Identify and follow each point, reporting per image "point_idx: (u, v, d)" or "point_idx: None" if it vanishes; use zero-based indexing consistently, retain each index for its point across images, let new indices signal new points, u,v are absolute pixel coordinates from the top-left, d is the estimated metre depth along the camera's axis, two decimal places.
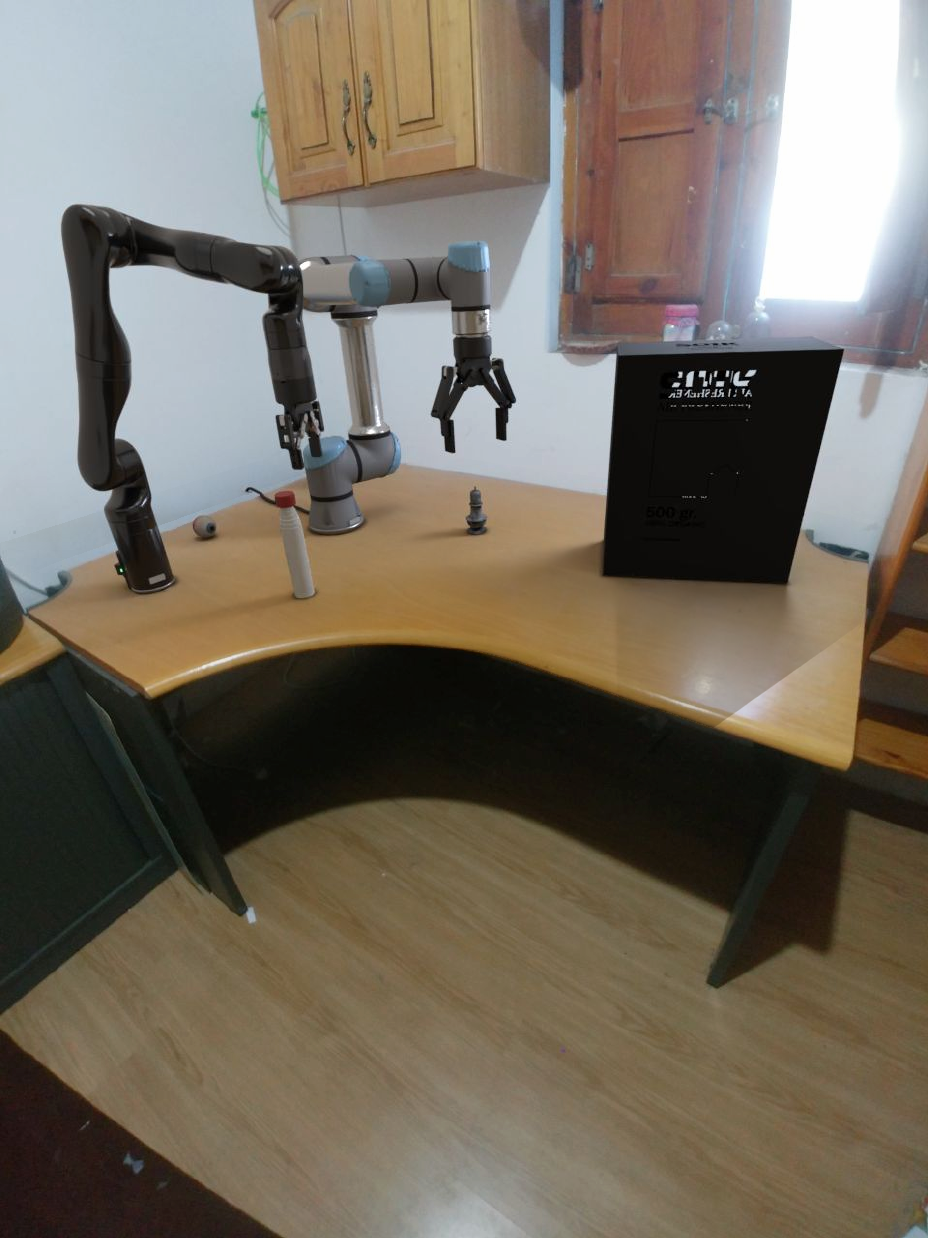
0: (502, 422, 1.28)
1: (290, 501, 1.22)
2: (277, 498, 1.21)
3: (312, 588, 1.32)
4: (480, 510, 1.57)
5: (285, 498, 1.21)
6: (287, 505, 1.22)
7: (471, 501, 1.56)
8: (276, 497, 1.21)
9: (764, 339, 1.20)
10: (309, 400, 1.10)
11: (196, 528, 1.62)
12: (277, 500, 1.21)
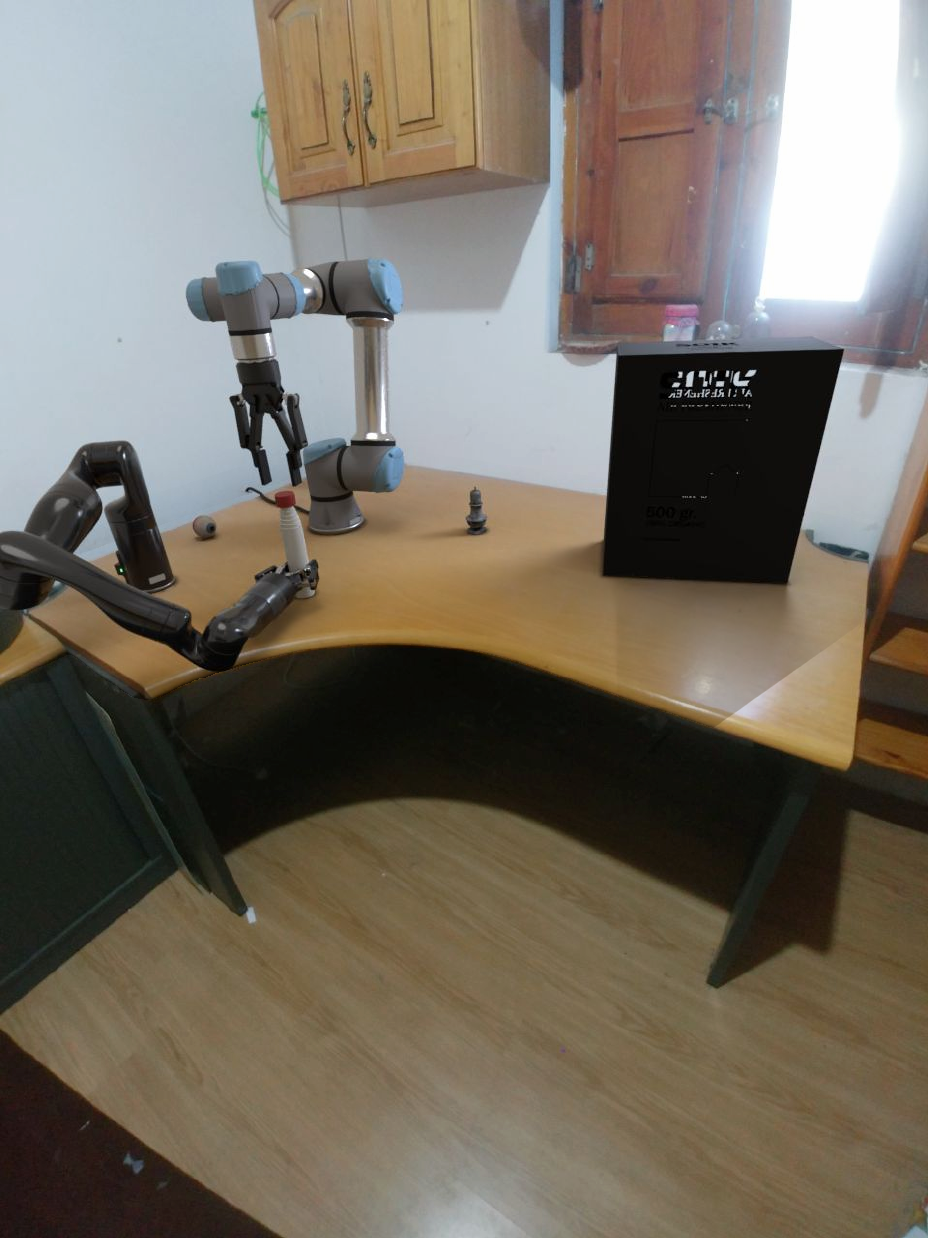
0: (267, 463, 1.21)
1: (290, 501, 1.22)
2: (277, 498, 1.21)
3: None
4: (480, 510, 1.57)
5: (285, 498, 1.21)
6: (287, 505, 1.22)
7: (471, 501, 1.56)
8: (276, 497, 1.21)
9: (764, 339, 1.20)
10: (281, 574, 1.20)
11: (196, 528, 1.62)
12: (277, 500, 1.21)
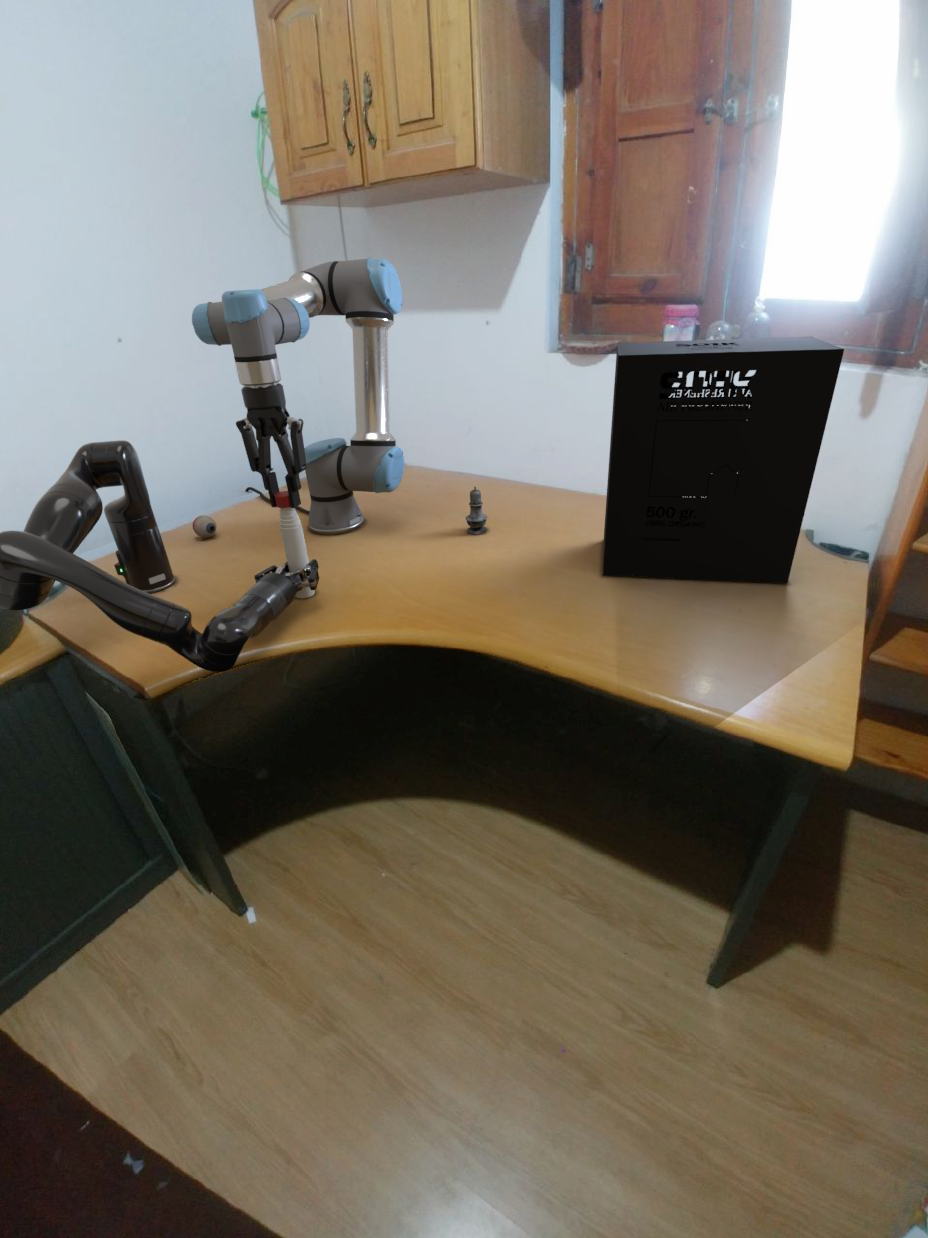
0: (277, 485, 1.23)
1: None
2: (277, 498, 1.21)
3: None
4: (480, 510, 1.57)
5: (285, 498, 1.21)
6: (287, 505, 1.22)
7: (471, 501, 1.56)
8: (276, 497, 1.21)
9: (764, 339, 1.20)
10: (281, 574, 1.20)
11: (196, 528, 1.62)
12: (277, 500, 1.21)
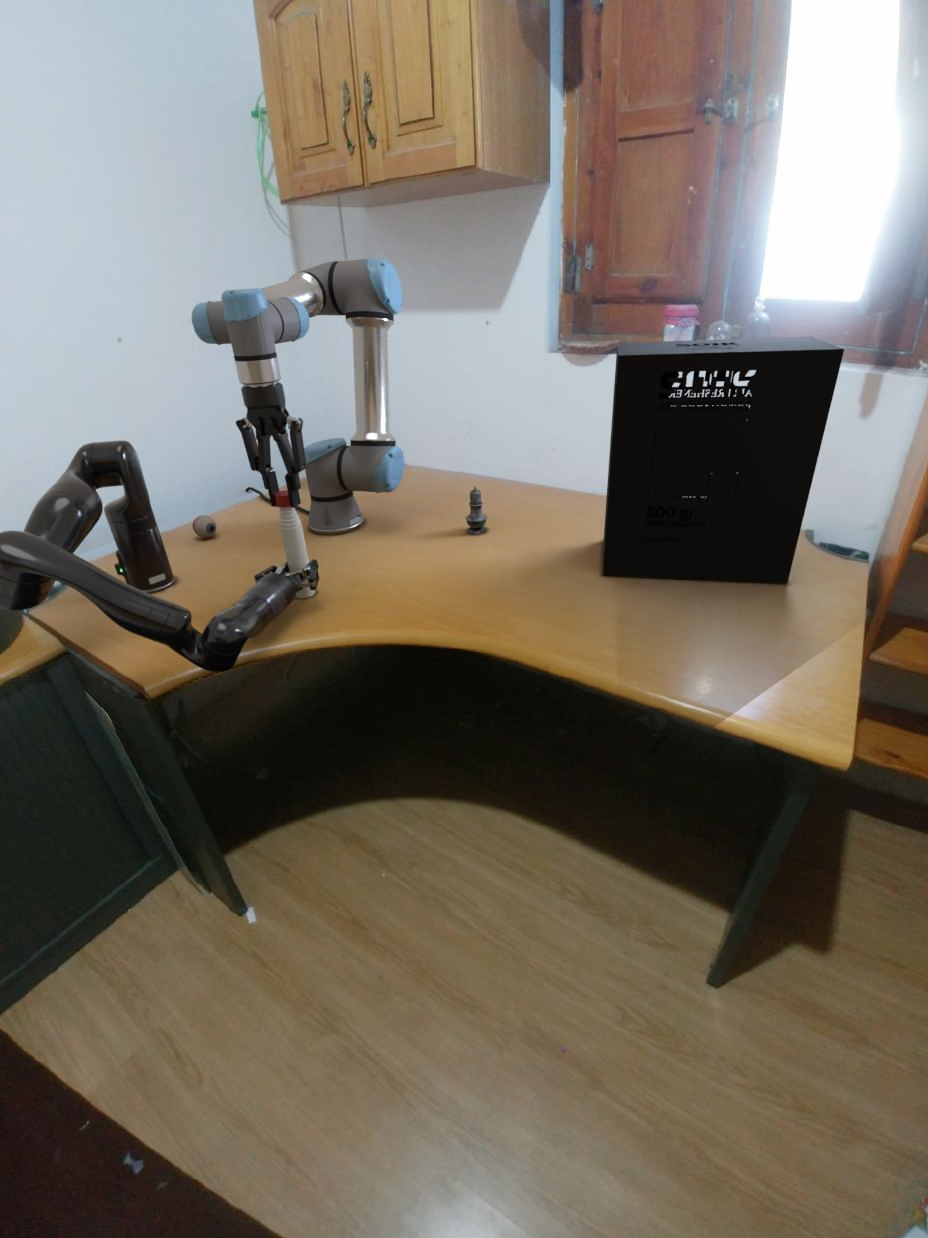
0: (277, 484, 1.23)
1: None
2: None
3: None
4: (480, 510, 1.57)
5: None
6: None
7: (471, 501, 1.56)
8: None
9: (764, 339, 1.20)
10: (281, 574, 1.20)
11: (196, 528, 1.62)
12: None
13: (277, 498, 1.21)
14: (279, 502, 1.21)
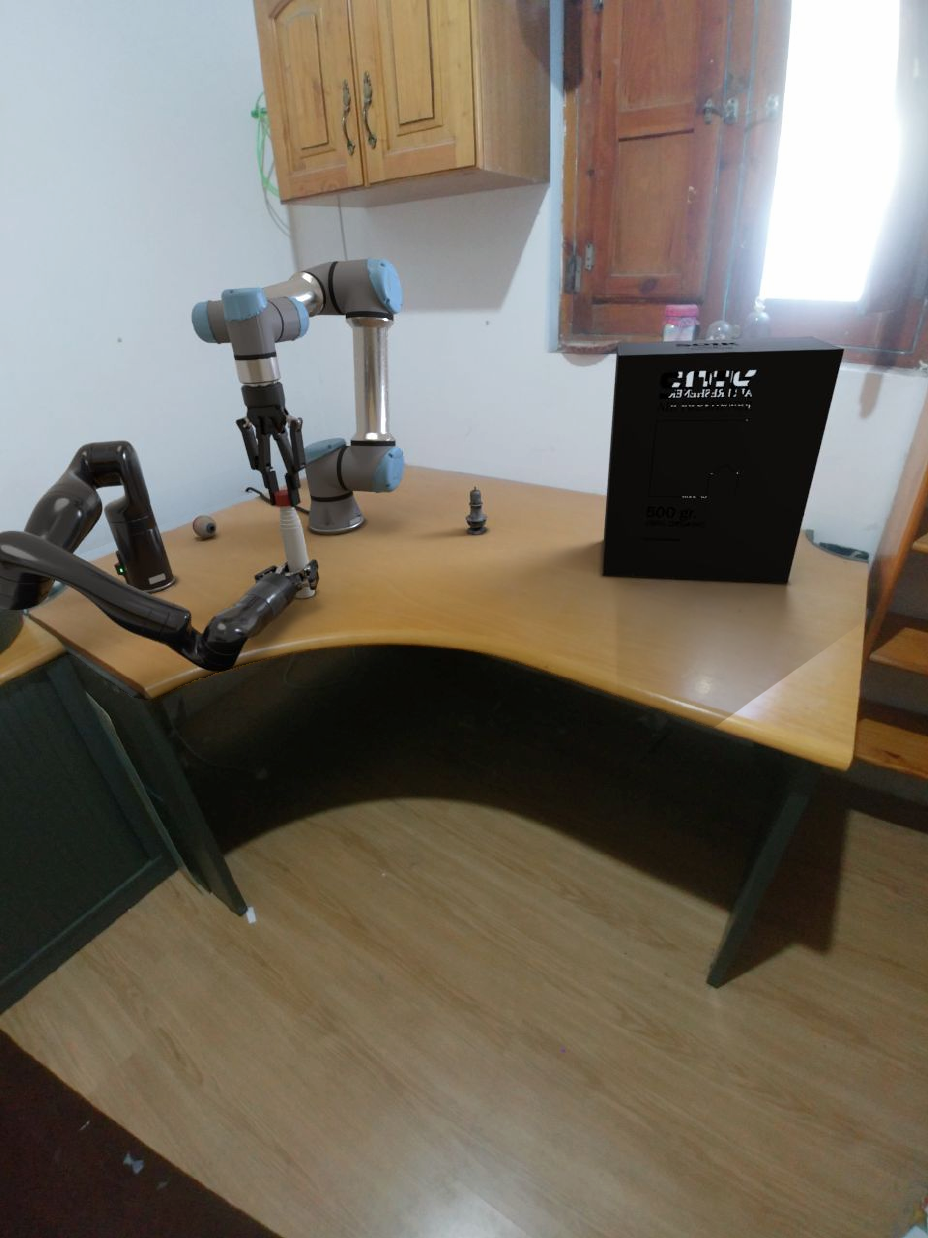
0: (277, 484, 1.23)
1: (277, 501, 1.21)
2: None
3: None
4: (480, 510, 1.57)
5: (274, 496, 1.21)
6: (276, 503, 1.22)
7: (471, 501, 1.56)
8: None
9: (764, 339, 1.20)
10: (281, 574, 1.20)
11: (196, 528, 1.62)
12: None
13: None
14: None
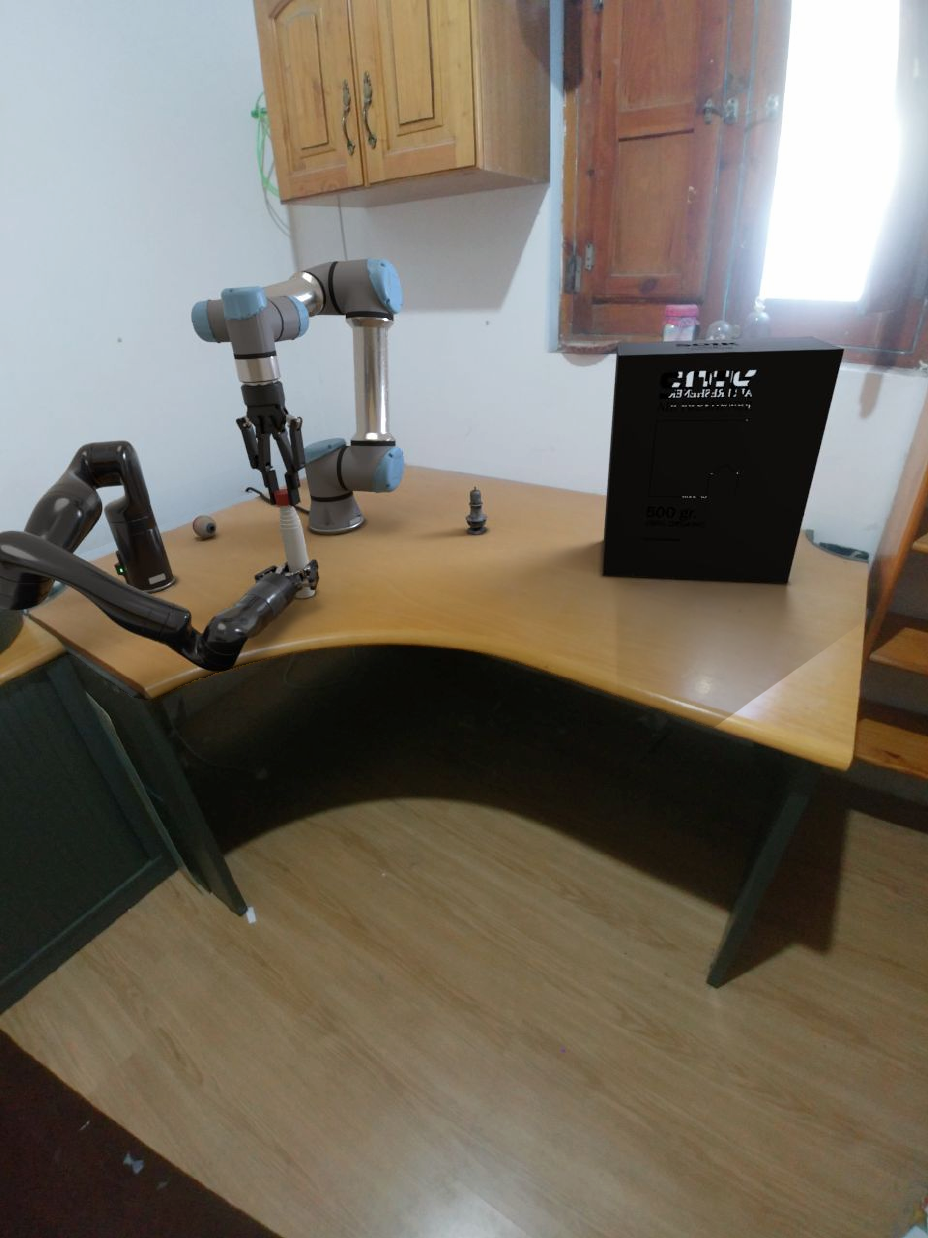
0: (277, 483, 1.22)
1: None
2: (284, 496, 1.20)
3: None
4: (480, 510, 1.57)
5: None
6: None
7: (471, 501, 1.56)
8: (283, 495, 1.20)
9: (764, 339, 1.20)
10: (281, 574, 1.20)
11: (196, 528, 1.62)
12: (284, 498, 1.21)
13: None
14: None
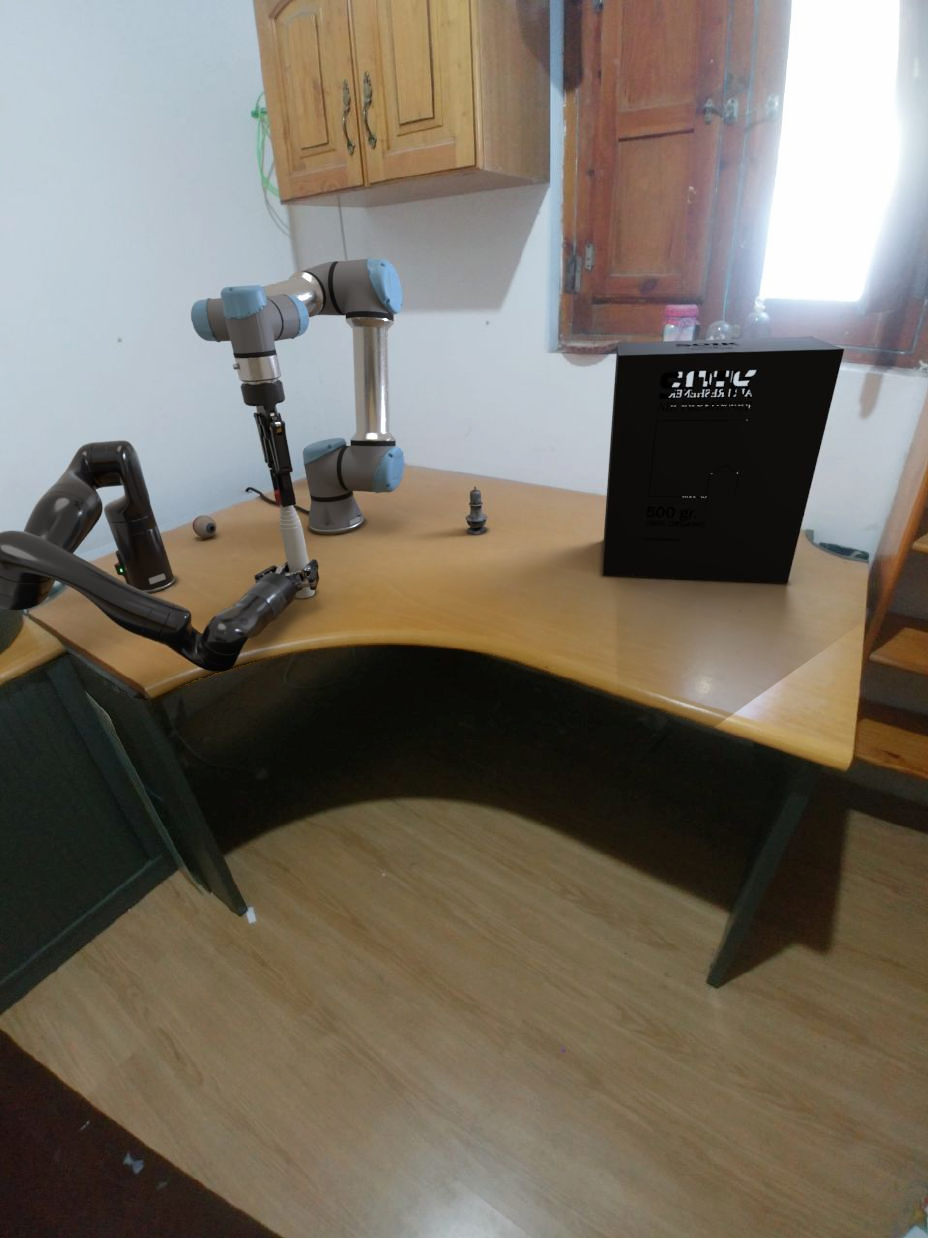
0: None
1: None
2: None
3: None
4: (480, 510, 1.57)
5: None
6: None
7: (471, 501, 1.56)
8: None
9: (764, 339, 1.20)
10: (281, 574, 1.20)
11: (196, 528, 1.62)
12: None
13: None
14: None
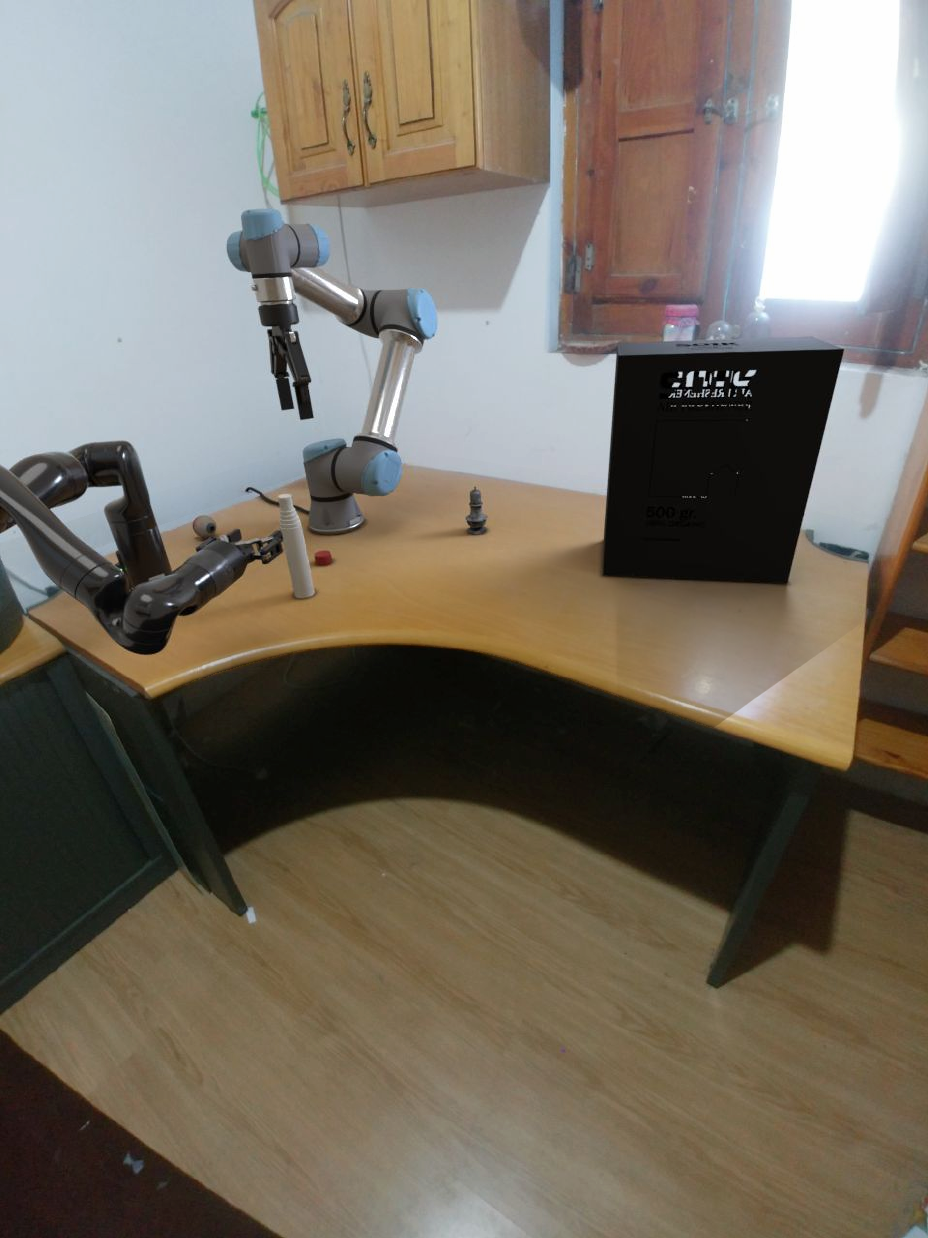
0: None
1: None
2: None
3: (312, 588, 1.32)
4: (480, 510, 1.57)
5: None
6: None
7: (471, 501, 1.56)
8: None
9: (764, 339, 1.20)
10: (229, 542, 1.02)
11: (196, 528, 1.62)
12: None
13: (324, 558, 1.45)
14: (326, 561, 1.46)
